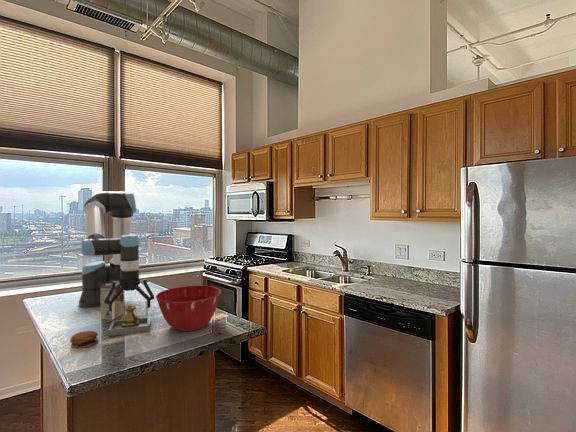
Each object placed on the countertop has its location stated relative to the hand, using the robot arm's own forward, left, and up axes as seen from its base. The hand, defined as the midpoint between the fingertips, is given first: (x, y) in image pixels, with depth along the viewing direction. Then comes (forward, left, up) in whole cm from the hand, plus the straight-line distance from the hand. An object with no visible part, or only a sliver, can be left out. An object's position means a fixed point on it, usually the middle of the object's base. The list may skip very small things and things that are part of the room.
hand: (130, 316), depth 150 cm
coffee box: (-22, -10, -5) cm, 25 cm away
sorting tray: (0, 0, -5) cm, 5 cm away
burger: (+13, -15, -6) cm, 21 cm away
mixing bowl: (+6, +25, -5) cm, 26 cm away
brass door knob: (0, 0, -5) cm, 5 cm away
